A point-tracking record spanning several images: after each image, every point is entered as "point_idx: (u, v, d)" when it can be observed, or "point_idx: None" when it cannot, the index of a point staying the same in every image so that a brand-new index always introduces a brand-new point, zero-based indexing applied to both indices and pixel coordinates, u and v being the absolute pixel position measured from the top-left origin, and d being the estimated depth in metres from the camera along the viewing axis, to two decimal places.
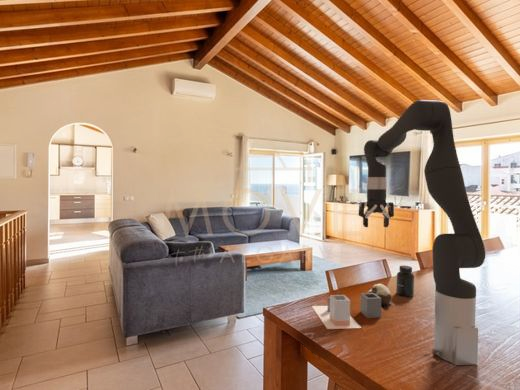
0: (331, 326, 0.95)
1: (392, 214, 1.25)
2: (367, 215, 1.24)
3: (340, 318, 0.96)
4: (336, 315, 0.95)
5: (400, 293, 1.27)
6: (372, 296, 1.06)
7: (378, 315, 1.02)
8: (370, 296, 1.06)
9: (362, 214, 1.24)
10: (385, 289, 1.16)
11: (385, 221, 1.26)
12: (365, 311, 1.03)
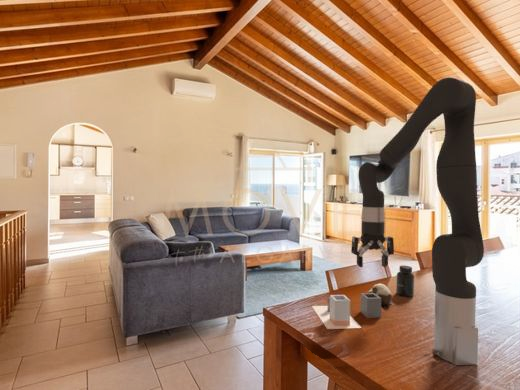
0: (331, 326, 0.95)
1: (392, 251, 1.04)
2: (361, 253, 1.03)
3: (340, 318, 0.96)
4: (336, 315, 0.95)
5: (400, 293, 1.27)
6: (372, 296, 1.06)
7: (378, 315, 1.02)
8: (370, 296, 1.06)
9: (355, 252, 1.02)
10: (385, 289, 1.16)
11: (383, 259, 1.04)
12: (365, 311, 1.03)
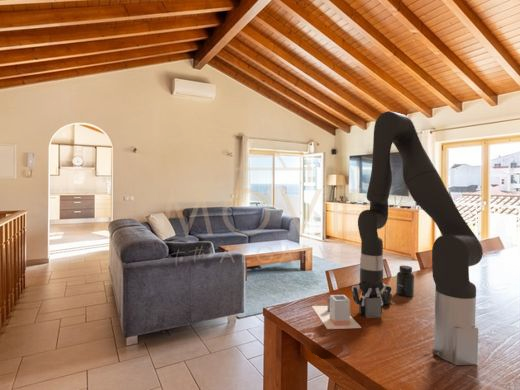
0: (331, 326, 0.95)
1: (386, 300, 1.04)
2: (364, 302, 1.03)
3: (340, 318, 0.96)
4: (336, 315, 0.95)
5: (400, 293, 1.27)
6: (372, 296, 1.06)
7: (378, 315, 1.02)
8: None
9: (358, 301, 1.03)
10: None
11: None
12: (365, 311, 1.03)
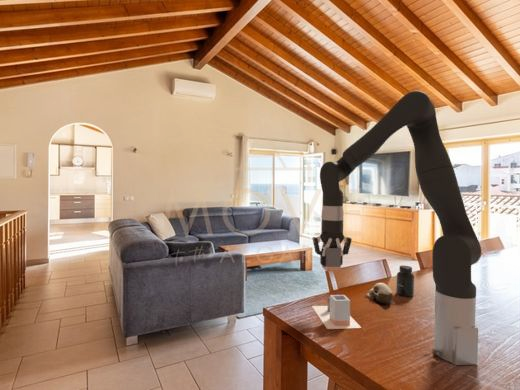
0: (331, 326, 0.95)
1: (346, 251, 1.06)
2: (324, 253, 1.05)
3: (340, 318, 0.96)
4: (336, 315, 0.95)
5: (400, 293, 1.27)
6: (333, 248, 1.09)
7: (338, 265, 1.05)
8: (331, 248, 1.09)
9: (318, 251, 1.05)
10: (387, 288, 1.18)
11: None
12: None
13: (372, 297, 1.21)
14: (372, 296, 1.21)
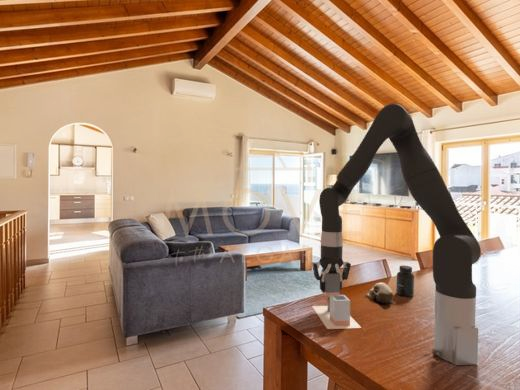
0: (331, 326, 0.95)
1: (345, 276, 1.06)
2: (324, 278, 1.05)
3: (340, 318, 0.96)
4: (336, 315, 0.95)
5: (400, 293, 1.27)
6: (333, 273, 1.09)
7: (337, 290, 1.05)
8: (331, 273, 1.09)
9: (318, 277, 1.05)
10: (387, 288, 1.18)
11: None
12: (325, 286, 1.05)
13: (372, 297, 1.21)
14: (372, 296, 1.21)
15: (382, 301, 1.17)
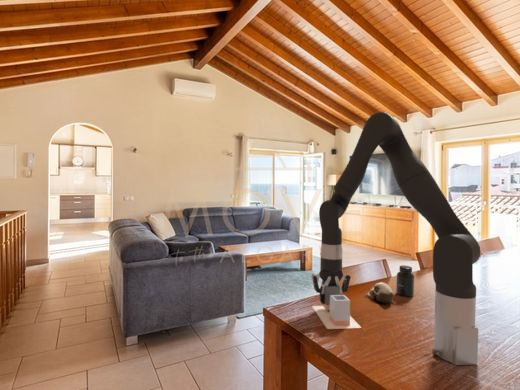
0: (331, 326, 0.95)
1: (345, 289, 1.06)
2: (324, 291, 1.05)
3: (340, 318, 0.96)
4: (336, 315, 0.95)
5: (400, 293, 1.27)
6: (332, 285, 1.09)
7: None
8: (330, 285, 1.09)
9: (318, 290, 1.05)
10: (387, 287, 1.18)
11: None
12: None
13: (373, 297, 1.21)
14: (373, 296, 1.21)
15: (382, 301, 1.17)
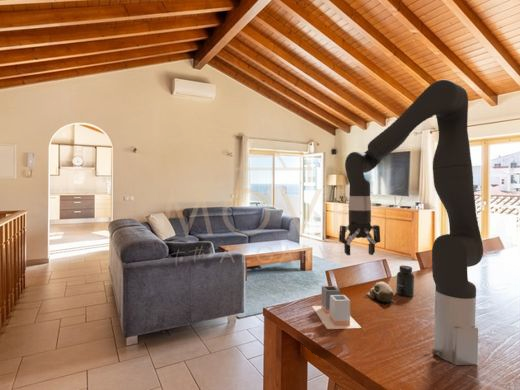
0: (331, 326, 0.95)
1: (378, 239, 1.06)
2: (349, 241, 1.04)
3: (340, 318, 0.96)
4: (336, 315, 0.95)
5: (400, 293, 1.27)
6: (332, 289, 1.09)
7: None
8: (330, 289, 1.09)
9: (343, 240, 1.04)
10: (387, 287, 1.19)
11: (370, 247, 1.06)
12: (324, 303, 1.06)
13: (373, 296, 1.22)
14: (373, 295, 1.22)
15: (383, 300, 1.18)
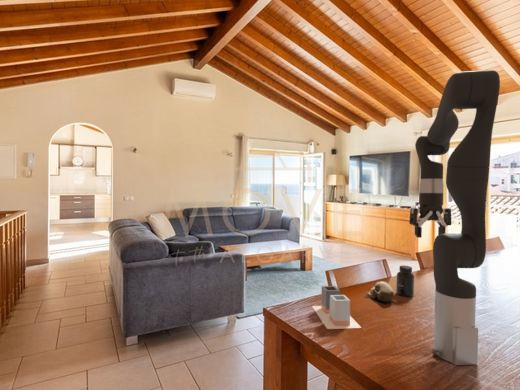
0: (331, 326, 0.95)
1: (449, 222, 1.06)
2: (421, 223, 1.05)
3: (340, 318, 0.96)
4: (336, 315, 0.95)
5: (400, 293, 1.27)
6: (332, 289, 1.09)
7: None
8: (330, 289, 1.09)
9: (415, 222, 1.05)
10: (388, 287, 1.19)
11: (441, 230, 1.07)
12: (324, 303, 1.06)
13: (373, 296, 1.22)
14: (373, 295, 1.22)
15: (383, 300, 1.18)
